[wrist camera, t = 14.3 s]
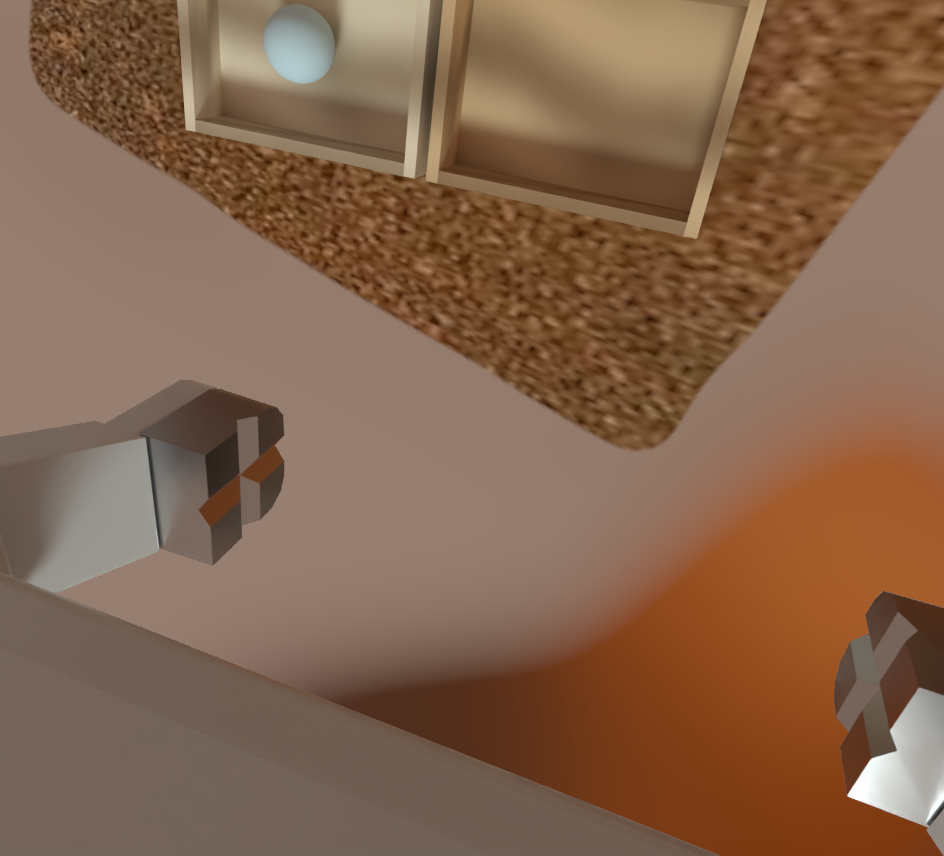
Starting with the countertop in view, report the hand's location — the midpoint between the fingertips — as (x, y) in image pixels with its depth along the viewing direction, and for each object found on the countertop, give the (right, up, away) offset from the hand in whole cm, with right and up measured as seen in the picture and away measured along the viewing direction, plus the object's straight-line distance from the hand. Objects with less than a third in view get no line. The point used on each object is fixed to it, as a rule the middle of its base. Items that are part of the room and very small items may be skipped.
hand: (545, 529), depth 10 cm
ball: (-9, +20, +26) cm, 35 cm away
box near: (+5, +17, +24) cm, 30 cm away
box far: (-8, +21, +27) cm, 35 cm away
